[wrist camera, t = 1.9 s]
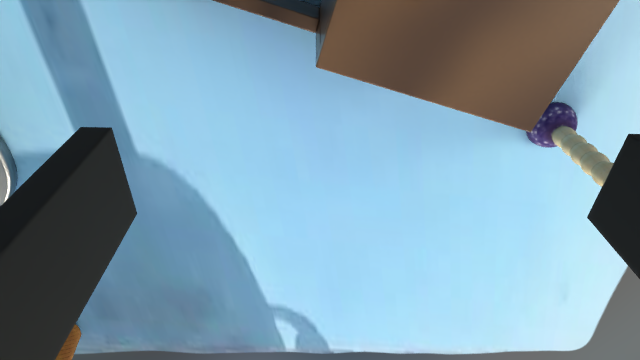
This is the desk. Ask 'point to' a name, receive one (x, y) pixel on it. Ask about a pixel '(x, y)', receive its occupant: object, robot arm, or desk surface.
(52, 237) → the robot arm
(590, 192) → the desk surface
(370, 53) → the wood block with slats
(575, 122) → the toy lamp
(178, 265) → the desk surface
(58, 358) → the disposable coffee cup
